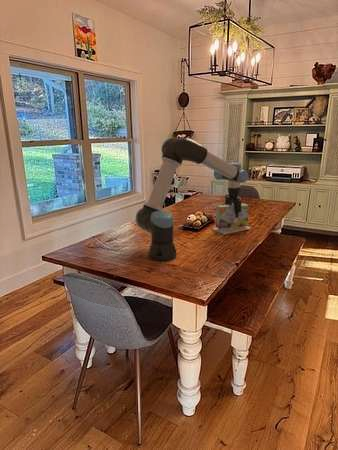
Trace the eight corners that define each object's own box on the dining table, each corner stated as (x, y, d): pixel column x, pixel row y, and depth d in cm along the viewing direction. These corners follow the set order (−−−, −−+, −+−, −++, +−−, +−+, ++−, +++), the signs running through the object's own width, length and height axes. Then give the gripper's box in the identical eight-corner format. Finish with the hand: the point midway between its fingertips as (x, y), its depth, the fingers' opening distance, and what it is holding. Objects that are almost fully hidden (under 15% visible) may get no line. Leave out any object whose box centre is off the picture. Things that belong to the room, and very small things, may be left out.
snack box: (219, 229, 208) (220, 206, 204) (215, 227, 213) (216, 205, 209) (247, 226, 214) (249, 204, 210) (243, 224, 219) (244, 203, 215)
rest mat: (252, 228, 215) (252, 227, 215) (222, 234, 203) (222, 233, 203) (240, 224, 225) (240, 223, 225) (210, 229, 213) (210, 228, 213)
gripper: (248, 188, 200) (246, 223, 206) (228, 184, 216) (226, 217, 222) (239, 189, 196) (237, 225, 203) (220, 185, 212) (218, 218, 219)
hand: (232, 220), depth 212 cm, fingers closed on snack box, 6 cm apart
